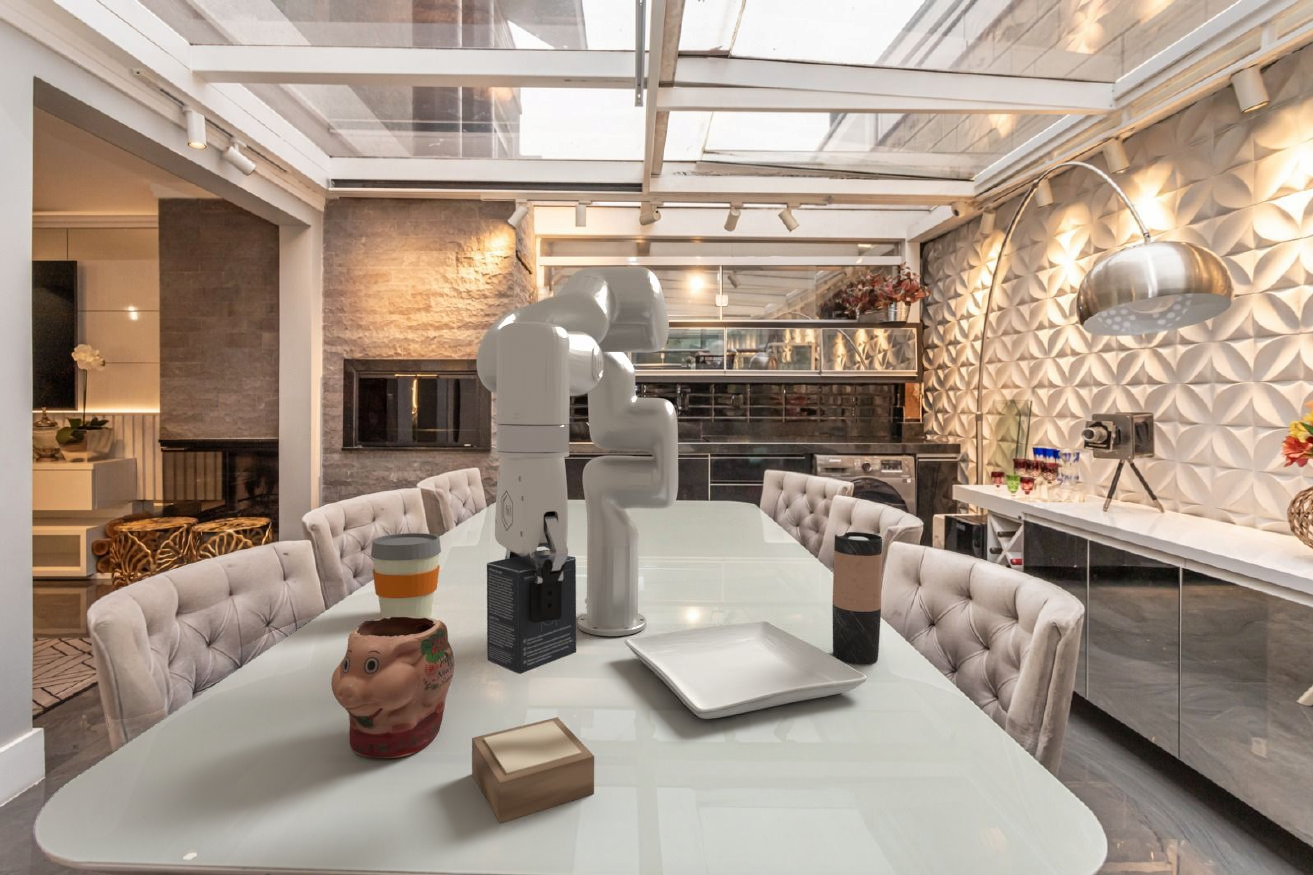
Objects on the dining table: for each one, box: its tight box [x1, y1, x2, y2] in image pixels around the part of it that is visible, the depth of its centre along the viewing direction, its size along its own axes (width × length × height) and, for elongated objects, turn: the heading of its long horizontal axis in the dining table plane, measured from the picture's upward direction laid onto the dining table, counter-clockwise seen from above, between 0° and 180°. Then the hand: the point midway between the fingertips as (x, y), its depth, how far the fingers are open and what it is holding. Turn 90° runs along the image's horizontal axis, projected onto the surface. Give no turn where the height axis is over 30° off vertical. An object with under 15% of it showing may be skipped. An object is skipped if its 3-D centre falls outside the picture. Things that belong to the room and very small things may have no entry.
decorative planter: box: [331, 616, 455, 759], centre depth 81 cm, size 20×12×14 cm, turn 173°
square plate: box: [624, 620, 868, 720], centre depth 100 cm, size 27×27×4 cm
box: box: [486, 554, 577, 675], centre depth 70 cm, size 8×6×11 cm
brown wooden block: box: [471, 717, 595, 824], centre depth 70 cm, size 10×10×4 cm
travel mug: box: [832, 531, 883, 666], centre depth 108 cm, size 8×8×20 cm
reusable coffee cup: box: [370, 532, 442, 619], centre depth 126 cm, size 13×12×15 cm
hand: (532, 608), depth 70 cm, fingers closed on box, 7 cm apart
